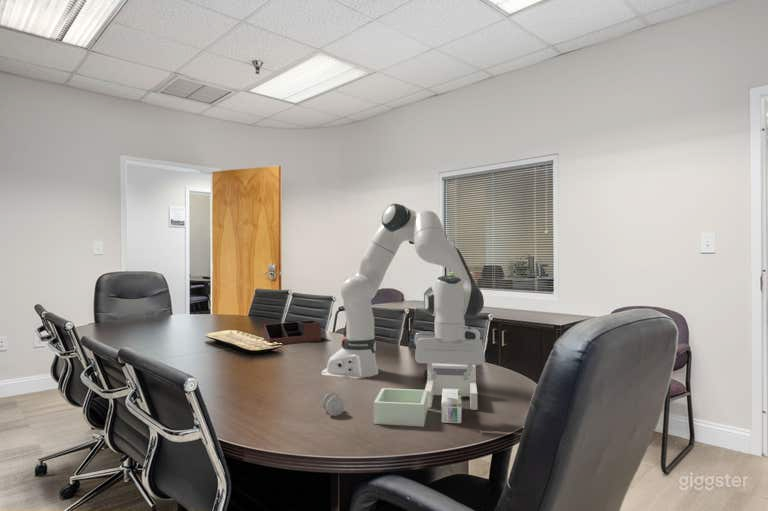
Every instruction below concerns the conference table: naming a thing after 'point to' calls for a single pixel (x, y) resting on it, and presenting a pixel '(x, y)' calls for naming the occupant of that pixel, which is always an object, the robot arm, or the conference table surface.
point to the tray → (400, 407)
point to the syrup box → (451, 406)
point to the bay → (452, 382)
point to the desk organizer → (293, 332)
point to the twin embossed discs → (333, 404)
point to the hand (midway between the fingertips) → (449, 378)
